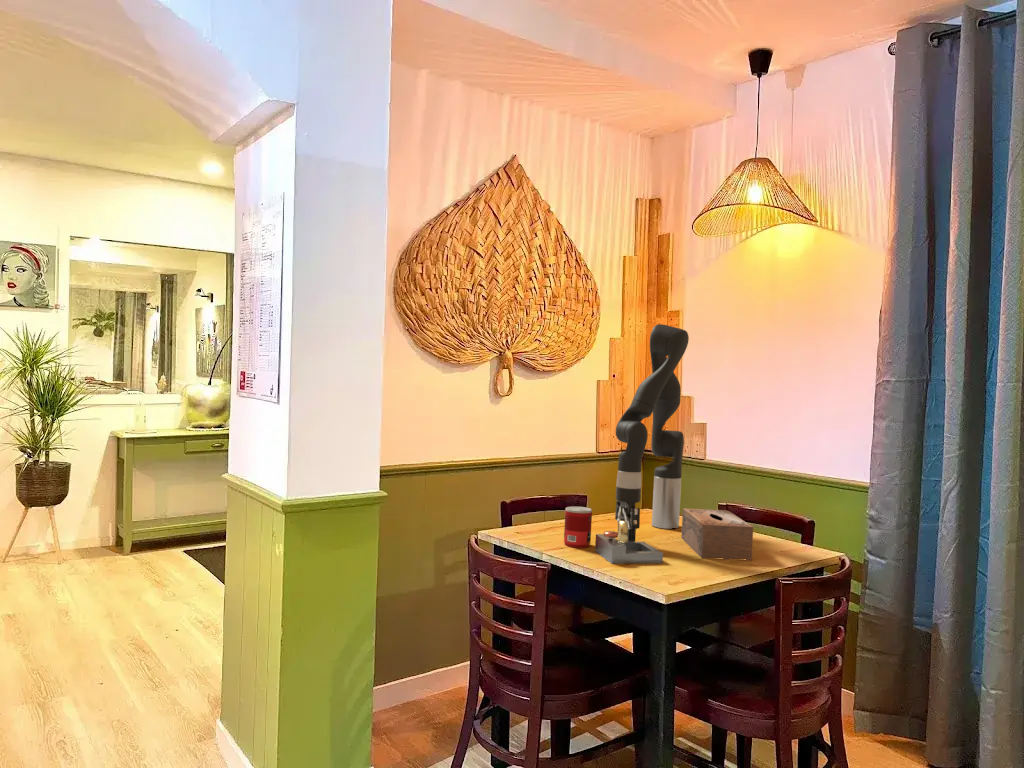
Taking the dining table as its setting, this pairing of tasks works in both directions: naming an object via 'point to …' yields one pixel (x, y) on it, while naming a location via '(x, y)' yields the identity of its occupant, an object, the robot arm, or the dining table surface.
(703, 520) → the tissue box cover
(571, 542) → the canned food
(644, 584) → the dining table surface
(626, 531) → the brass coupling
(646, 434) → the robot arm
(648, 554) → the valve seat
